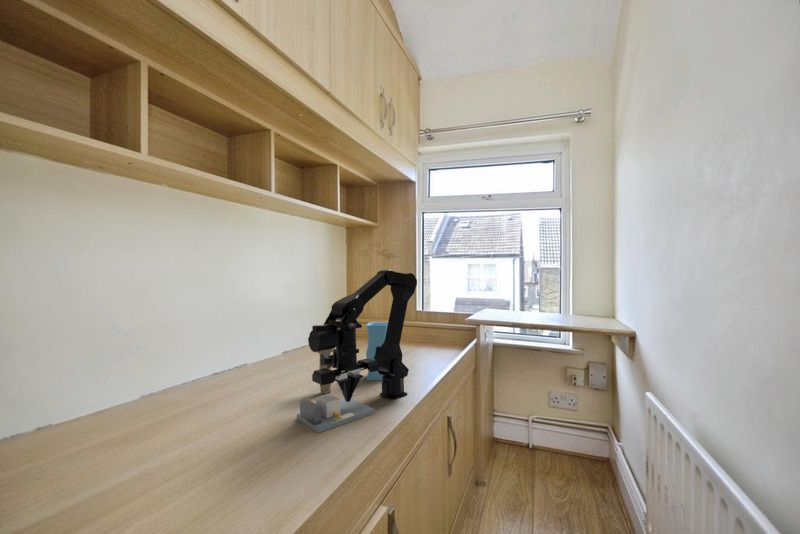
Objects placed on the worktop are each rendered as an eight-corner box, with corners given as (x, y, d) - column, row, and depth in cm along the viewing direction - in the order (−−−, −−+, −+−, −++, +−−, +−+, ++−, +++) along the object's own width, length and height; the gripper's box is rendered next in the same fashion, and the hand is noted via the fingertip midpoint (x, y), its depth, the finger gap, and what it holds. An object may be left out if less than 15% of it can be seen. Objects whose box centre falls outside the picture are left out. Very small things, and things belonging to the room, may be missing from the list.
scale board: (350, 401, 103) (350, 396, 104) (374, 413, 95) (374, 407, 95) (296, 418, 92) (296, 412, 92) (318, 433, 83) (318, 426, 83)
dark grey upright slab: (307, 414, 92) (306, 399, 92) (321, 423, 86) (321, 406, 86) (300, 416, 91) (299, 401, 91) (314, 425, 85) (314, 409, 85)
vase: (388, 380, 124) (386, 324, 125) (366, 380, 125) (365, 325, 125) (390, 374, 132) (389, 322, 133) (370, 374, 133) (368, 322, 133)
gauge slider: (328, 408, 95) (328, 393, 95) (346, 417, 89) (346, 401, 89) (315, 412, 93) (315, 397, 93) (332, 422, 86) (332, 405, 86)
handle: (328, 396, 109) (327, 349, 109) (313, 393, 112) (312, 347, 112) (338, 391, 113) (336, 346, 114) (323, 389, 116) (322, 344, 117)
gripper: (357, 337, 109) (358, 387, 108) (302, 347, 96) (303, 403, 96) (378, 341, 100) (380, 395, 100) (321, 353, 88) (323, 414, 88)
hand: (347, 401), depth 96 cm, fingers closed
